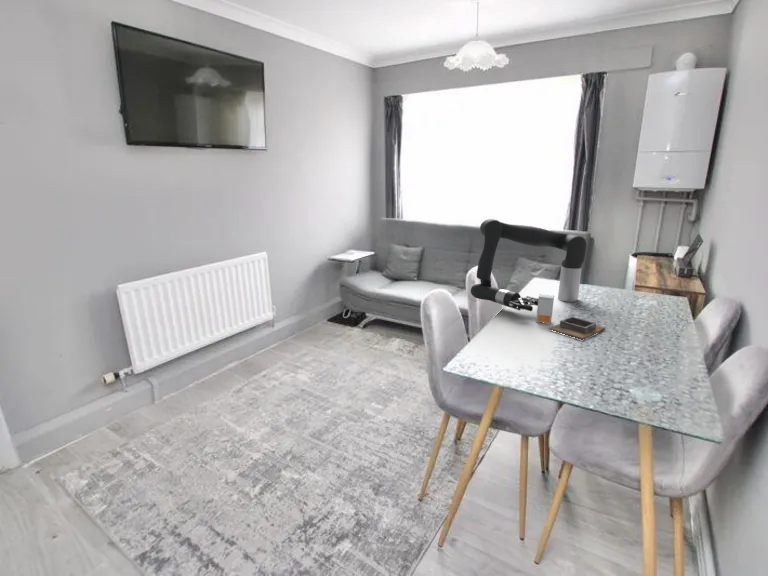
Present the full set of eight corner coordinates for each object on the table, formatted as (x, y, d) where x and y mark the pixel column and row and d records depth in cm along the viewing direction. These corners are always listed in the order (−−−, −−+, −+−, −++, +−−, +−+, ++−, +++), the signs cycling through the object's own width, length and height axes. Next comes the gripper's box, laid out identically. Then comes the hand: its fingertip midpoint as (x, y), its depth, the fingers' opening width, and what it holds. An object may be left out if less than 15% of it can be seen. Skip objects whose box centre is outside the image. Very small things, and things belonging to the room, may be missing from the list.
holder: (572, 320, 174) (573, 313, 173) (605, 330, 163) (606, 322, 162) (549, 330, 163) (549, 322, 162) (582, 341, 153) (583, 332, 152)
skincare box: (535, 322, 172) (538, 296, 169) (537, 319, 176) (539, 293, 173) (550, 324, 170) (553, 298, 166) (551, 321, 173) (554, 295, 170)
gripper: (498, 293, 182) (529, 302, 169) (517, 288, 189) (548, 295, 177) (497, 308, 184) (527, 318, 171) (516, 302, 192) (546, 311, 179)
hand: (538, 307), depth 174 cm, fingers open, 8 cm apart
